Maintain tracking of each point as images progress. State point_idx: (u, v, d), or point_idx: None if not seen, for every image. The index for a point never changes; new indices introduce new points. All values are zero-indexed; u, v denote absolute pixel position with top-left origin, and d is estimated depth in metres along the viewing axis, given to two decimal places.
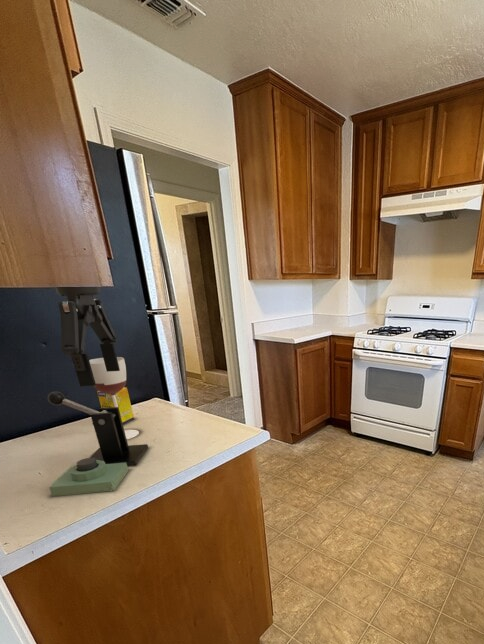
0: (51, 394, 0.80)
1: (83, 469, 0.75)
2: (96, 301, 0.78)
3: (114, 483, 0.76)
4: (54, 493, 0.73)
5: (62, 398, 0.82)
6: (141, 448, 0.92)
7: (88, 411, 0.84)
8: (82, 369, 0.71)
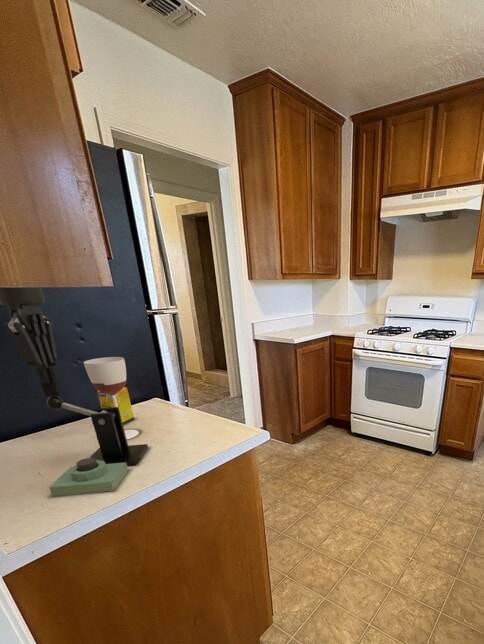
0: (49, 399, 0.81)
1: (83, 469, 0.75)
2: (46, 318, 0.80)
3: (114, 483, 0.76)
4: (54, 493, 0.73)
5: (61, 402, 0.82)
6: (141, 448, 0.92)
7: (88, 413, 0.84)
8: (46, 381, 0.78)
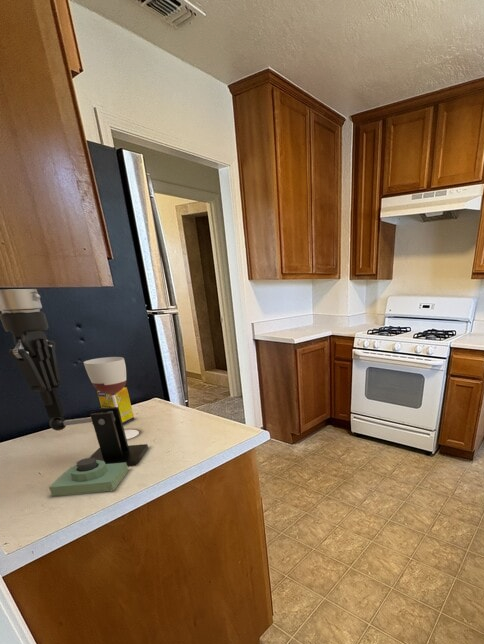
0: (50, 422, 0.83)
1: (83, 469, 0.75)
2: (49, 341, 0.82)
3: (114, 483, 0.76)
4: (54, 493, 0.73)
5: (61, 420, 0.83)
6: (141, 448, 0.92)
7: (88, 420, 0.84)
8: (50, 404, 0.80)
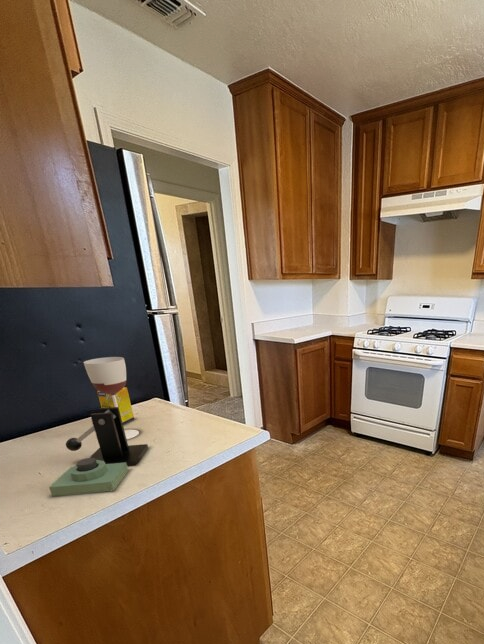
0: (66, 445, 0.85)
1: (83, 469, 0.75)
2: None
3: (114, 483, 0.76)
4: (54, 493, 0.73)
5: (73, 439, 0.86)
6: (141, 448, 0.92)
7: (93, 427, 0.85)
8: None
